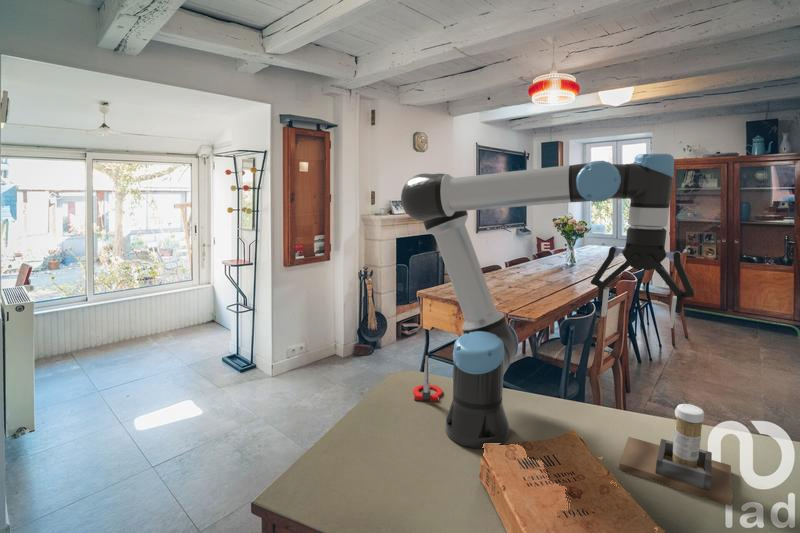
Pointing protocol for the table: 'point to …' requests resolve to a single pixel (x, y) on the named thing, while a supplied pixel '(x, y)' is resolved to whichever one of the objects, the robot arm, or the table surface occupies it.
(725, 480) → the cup bracket
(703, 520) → the table surface
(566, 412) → the table surface
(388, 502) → the table surface
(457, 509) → the table surface
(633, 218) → the robot arm
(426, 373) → the tow hook
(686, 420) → the sprinkles bottle
